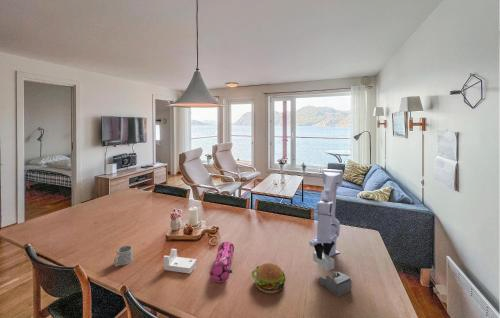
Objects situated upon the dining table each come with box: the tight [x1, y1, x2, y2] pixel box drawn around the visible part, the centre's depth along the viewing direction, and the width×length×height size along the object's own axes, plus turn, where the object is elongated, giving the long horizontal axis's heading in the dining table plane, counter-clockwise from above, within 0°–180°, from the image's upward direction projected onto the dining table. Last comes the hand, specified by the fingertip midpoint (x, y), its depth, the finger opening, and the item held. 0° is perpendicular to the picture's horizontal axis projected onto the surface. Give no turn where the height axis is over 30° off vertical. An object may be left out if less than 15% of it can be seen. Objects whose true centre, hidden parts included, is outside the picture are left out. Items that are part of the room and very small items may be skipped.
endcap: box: [318, 270, 353, 298], centre depth 97 cm, size 10×10×5 cm
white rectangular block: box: [312, 250, 335, 271], centre depth 103 cm, size 9×4×4 cm, turn 28°
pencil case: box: [209, 241, 235, 283], centre depth 109 cm, size 21×10×10 cm, turn 0°
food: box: [251, 262, 286, 294], centre depth 98 cm, size 14×14×8 cm
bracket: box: [163, 248, 198, 274], centre depth 109 cm, size 13×7×8 cm, turn 77°
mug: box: [113, 245, 134, 267], centre depth 114 cm, size 10×7×7 cm
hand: (322, 257), depth 103 cm, fingers closed on white rectangular block, 3 cm apart
